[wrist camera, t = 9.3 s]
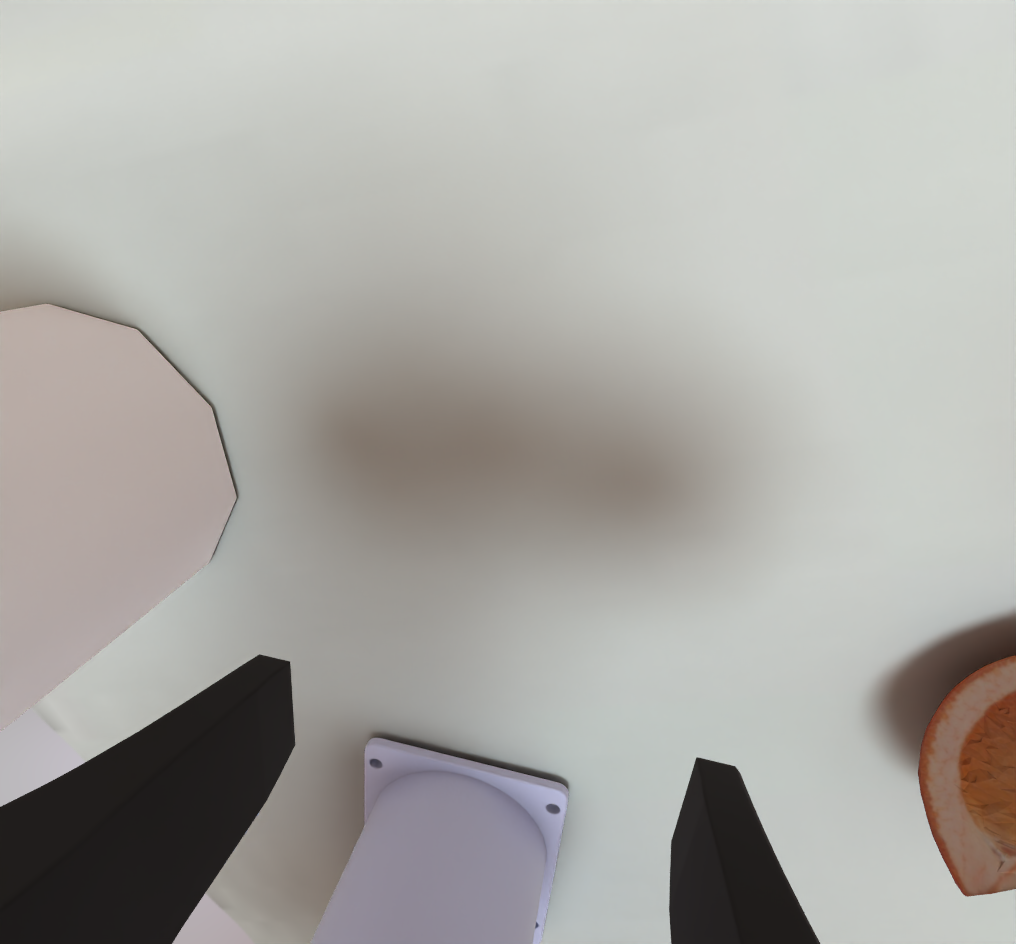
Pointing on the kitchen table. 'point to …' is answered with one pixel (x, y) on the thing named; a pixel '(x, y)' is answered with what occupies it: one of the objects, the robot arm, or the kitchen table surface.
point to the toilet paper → (94, 492)
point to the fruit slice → (974, 779)
